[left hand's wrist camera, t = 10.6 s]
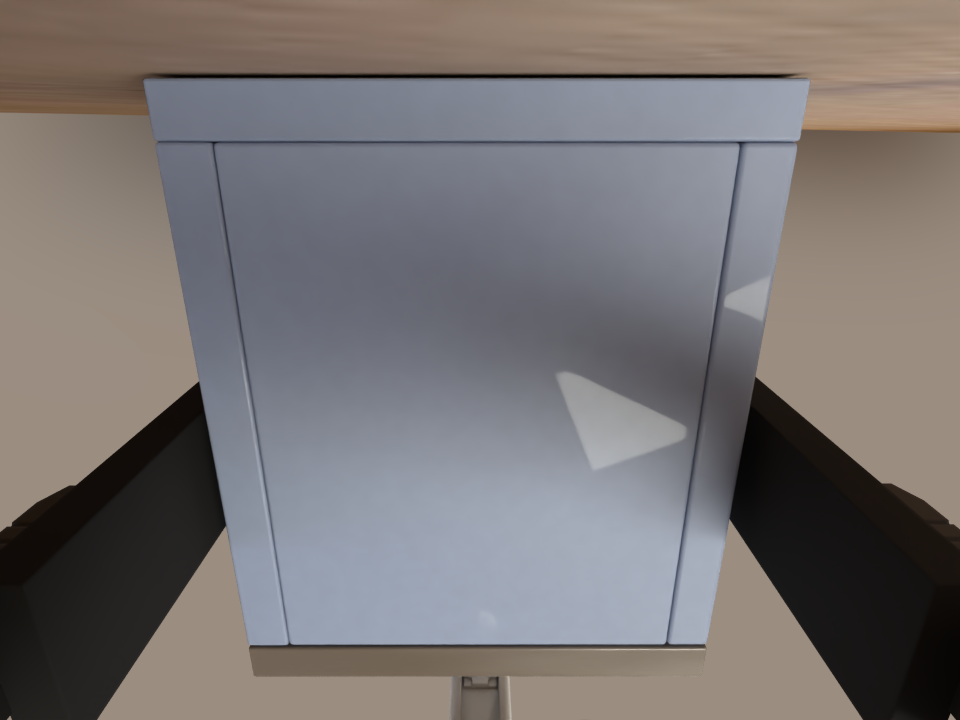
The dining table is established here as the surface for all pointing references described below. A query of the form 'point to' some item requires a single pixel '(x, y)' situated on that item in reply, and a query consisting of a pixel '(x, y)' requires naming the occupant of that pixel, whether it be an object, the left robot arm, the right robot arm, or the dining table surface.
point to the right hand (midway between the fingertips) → (480, 684)
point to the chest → (476, 343)
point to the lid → (478, 660)
